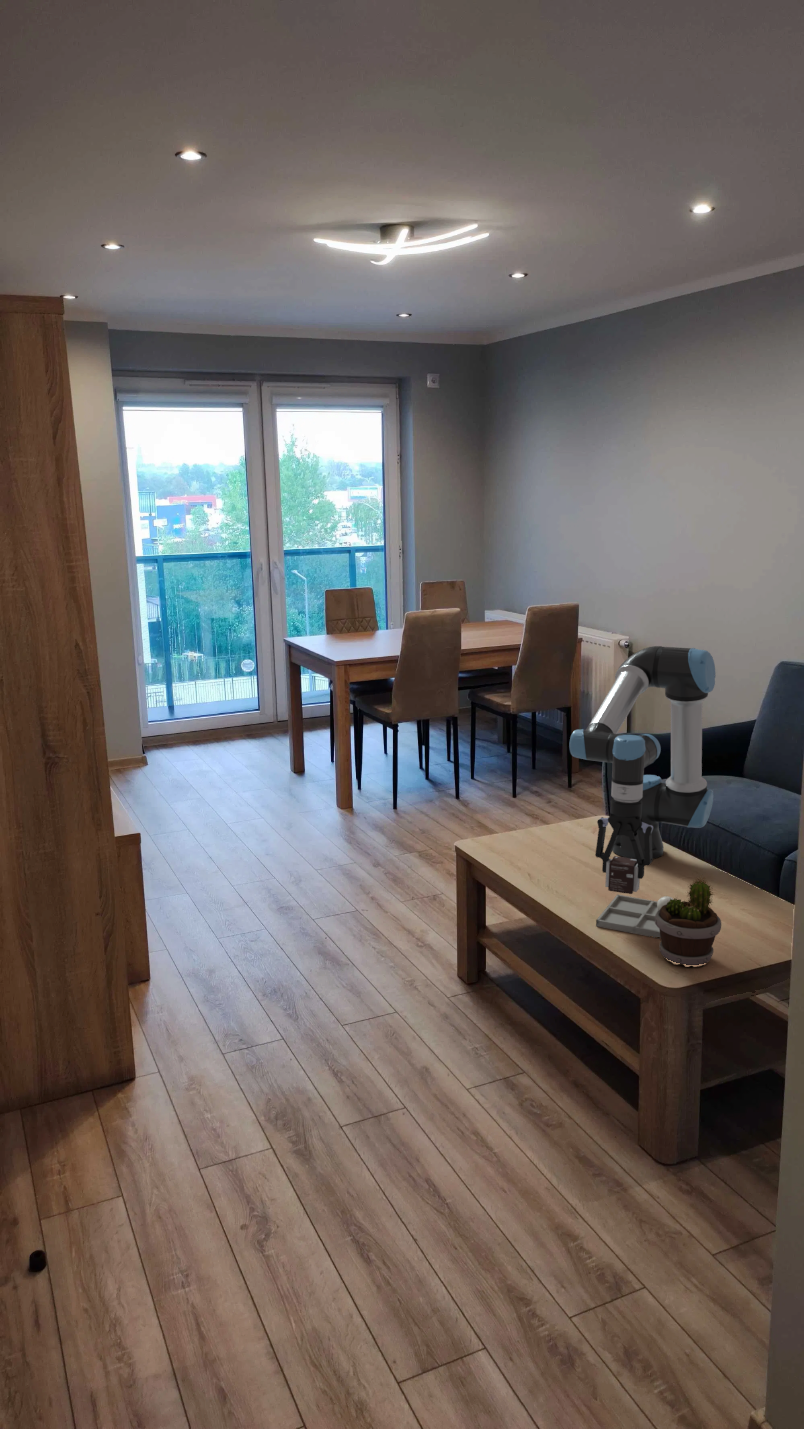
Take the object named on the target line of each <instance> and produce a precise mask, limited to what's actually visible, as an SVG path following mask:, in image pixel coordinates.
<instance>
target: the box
mask: <svg viewBox="0 0 804 1429" xmlns="http://www.w3.org/2000/svg"><path fill="white" fill-rule="evenodd" d="M611 859H612V860H611V862H610V866H609V885H608V887H607V891H610V892H614V893H620V894H630V895H633V893H634V892H633V889H634V870H635V866H636V864H637V860H636V859H632V858H626V857H623V856H618V855H616V856H615V855H614V856H613V857H612V858H611Z"/></svg>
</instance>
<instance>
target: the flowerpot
mask: <svg viewBox="0 0 804 1429" xmlns="http://www.w3.org/2000/svg"><path fill="white" fill-rule="evenodd" d="M702 877H703V874H701V876H698V877H694V878H695V879H694V880H692V882H691V883H689V884H688V883H687V888H688V890H686V891H687V892H686V894H687V895H686V898H687V900H686V899H685V900H683V901H682V899H679V896H675V897H673V899H674V900H672V899H671V898H672V897H671V898H670V901H669V902H668V903H667V904H666V905H664V906H662V907H661V909H660V910H659V911H658V912H657V913H656V915H655V924H656V926H657V927H658V928H659V929H660V937H661V939H660V942H659V952H660V954H661V955H662V956H663V958H664V957H665V958H667V959H668V960H671V961H673V962H676V963H680V964H686V965H699V964H704V963H707V964H708V962H709V961H711V960H712V957H713V954H714V947H713V945H714V941H715V939H716V936H717V935H718V934H720V932H721V930H722V920H721V917H720V916H719V915H718V914H717V913H716V912H715V911H714V910H713V909H712V907H711V906H713V903H712V900H713V899H712V898H713V896H714V892H713V886H712V885H711V884H708V881H707V880H705V879H706V877H705V876H704V877H703V878H702ZM665 958H664V959H665Z"/></svg>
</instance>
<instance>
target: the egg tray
mask: <svg viewBox="0 0 804 1429" xmlns="http://www.w3.org/2000/svg"><path fill="white" fill-rule="evenodd" d="M657 902H658V900H656V901H655V900H651V899H646V898H639V897H634V896H628V895H624V894H618V893H617V894H616V896H615V897H614V898H613V899H612V900H611V902H610V903H609V904H608V905H607V907H605V908H604V910H603V911H602V913H600V915H599V916H598V917H597V919H596V922H595V927H599V928H604V929H609V930H614V931H619V932H620V931H621V932H625V933H630V934H635V935H640V936H646V937H650V936H653V937H652V938H655V937H660V929H659V928H658V927H657V926H656V924H655V915H656V913H657V912H658V908H657ZM660 938H661V937H660ZM660 938H659V939H660Z"/></svg>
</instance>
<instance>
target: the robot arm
mask: <svg viewBox="0 0 804 1429" xmlns="http://www.w3.org/2000/svg"><path fill="white" fill-rule="evenodd" d="M616 670H617V671H616V672H615V675H614V682H613V684H612V685H611V688H610V689H609V691H608V692H607V694H606V696H605V697H604V699H603V701H602V703H601V705H600V706H599V708H598V710H597V711H596V713H595V714H594V716H593V717H592V719H591V721H590V723H589V724H588V726H587V727H586V729H584V728H582V729H578V728H577V729H575V730H573V732H572V733H571V735H570V737H569V738H570V739H569V746H568V747H569V753H570V755H571V756H572V757H574V758H577V759H581V760H582V759H583V760H586V761H593V762H594V761H595V762H603V763H609V764H610V763H611V764H612V770H611V772H612V773H611V794H610V796H611V797H612V798H611V799H610V810H609V811H610V812H609V813H610V814H609V816H608V817H603V816H601V817H600V818H599V819H597V821H596V822H597V827H598V832H597V839H596V848H595V855H594V856H595V857H596V858H598V859H601V861H602V867H601V868H602V870H601V871H602V873H605V888H606V887H607V888H608V885H609V866H610V862H611V860H612V859H613V858H611V854H612V853H614V854H615V855H616V856H619V857H626V858H631V859H636V860H637V864H636V866H635V870H634V889H633V893H637V892H638V891H639V890H640V880H641V879H643V878H644V876H645V867H646V866H649V867H650V865H651V864H652V862H653V859H654V860H655V859H658V858H659V857H662V856H663V855H664V843H663V839H662V836H661V832H660V828H659V827H660V823H662V824H669V825H674V826H675V825H676V826H682V827H686V828H696V829H700V828H703V827H705V825H706V824H707V823H708V820H709V817H710V815H711V811H712V808H713V804H714V796H715V795H714V791H713V790H712V789H710V788H708V782H707V780H706V779H705V778H704V777H702V773H703V772H702V769H703V768H702V767H703V763H702V760H703V759H702V757H703V750H702V749H703V701H705V700H706V699H707V698H708V697H709V693H711V692H712V691H713V690H714V688H715V685H716V665H715V660H714V658H713V656H712V655H711V653H710V651H708V650H704V649H698V648H695V647H677V646H676V647H673V646H662V645H655V646H649V647H645V648H643V649H641V650H639V651H637V652H635V653H633V654H632V655H630V656H629V657H628V658H626V659H625V660H624V661H623V662H622V663H621V664H620V666H619V667H618V669H616ZM648 688H657V689H658V688H659V689H664V693H665V694H664V696H665V698H666V699H668V700H669V702H670V776H669V777H667V779H666V780H665V783H664V782H663V780H662V778H661V777H660V776H659V775H658V776H657V775H656V774H645V768H646V767H648V766H650V765H652V764H654V762H656V760H657V759H658V758H659V757H660V754H661V752H662V751H661V750H662V749H661V748H662V747H661V744H660V741H659V740H658V738H656V737H655V736H654V735H652V734H648V733H643V734H639V735H635V734H620V733H619V731H620V729H621V727H622V726H623V724H624V722H625V721H626V719H627V717H628V716H629V714H630V713H631V710H632V709H633V707H634V704H636V701H637V699H638V698H639V695H641V694H643V693H644V692H646V691H647V690H648ZM608 825H610V827H611V828H612V830H613V831H612V833H611V835H610V838H609V841H608V843H607V846H606V848H605V847H604V845H605V839H606V832H607V827H608ZM604 848H605V850H604Z"/></svg>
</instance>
